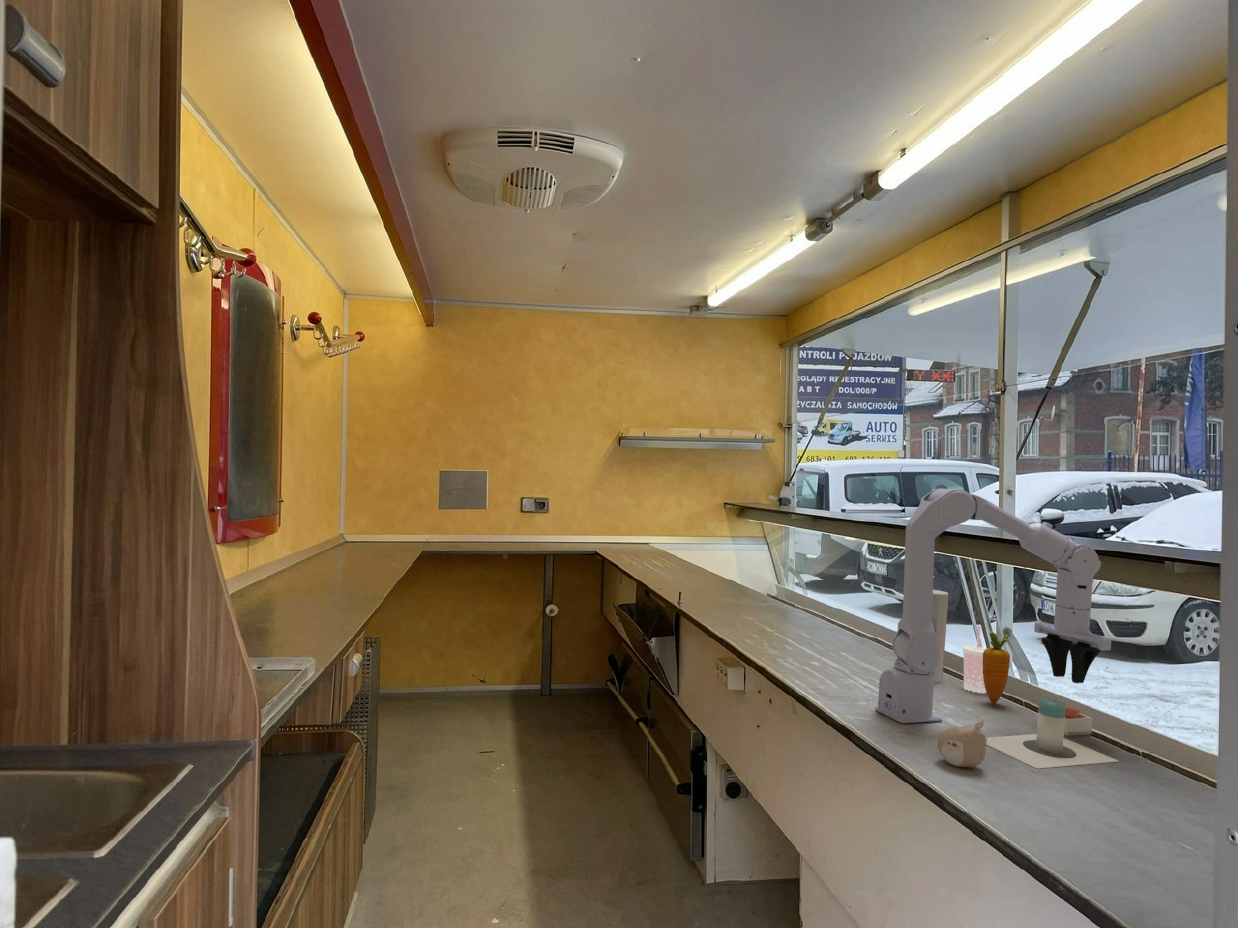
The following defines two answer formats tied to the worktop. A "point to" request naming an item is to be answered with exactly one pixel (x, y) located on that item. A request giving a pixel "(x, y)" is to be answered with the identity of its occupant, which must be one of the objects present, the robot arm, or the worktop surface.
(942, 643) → the spray can
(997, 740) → the paper sheet
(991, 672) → the carrot
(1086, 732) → the button housing
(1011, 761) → the worktop surface
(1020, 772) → the worktop surface
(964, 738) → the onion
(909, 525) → the robot arm
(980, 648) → the beverage cup
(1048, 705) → the marker
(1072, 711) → the button
